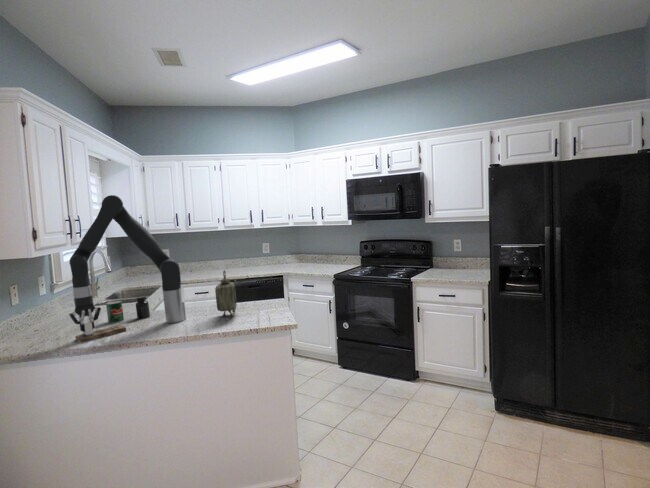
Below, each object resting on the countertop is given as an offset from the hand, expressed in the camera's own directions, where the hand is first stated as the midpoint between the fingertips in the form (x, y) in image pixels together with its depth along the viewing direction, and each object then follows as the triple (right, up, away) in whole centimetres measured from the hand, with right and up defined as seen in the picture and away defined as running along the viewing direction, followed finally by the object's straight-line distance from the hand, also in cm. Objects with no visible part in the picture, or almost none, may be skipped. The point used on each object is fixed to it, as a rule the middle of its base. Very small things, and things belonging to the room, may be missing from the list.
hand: (87, 330), depth 187 cm
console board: (+4, -3, +5) cm, 7 cm away
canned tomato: (-3, -2, +31) cm, 31 cm away
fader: (0, -2, 0) cm, 2 cm away
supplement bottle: (+11, -1, +35) cm, 36 cm away
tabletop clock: (+62, +3, +23) cm, 67 cm away
